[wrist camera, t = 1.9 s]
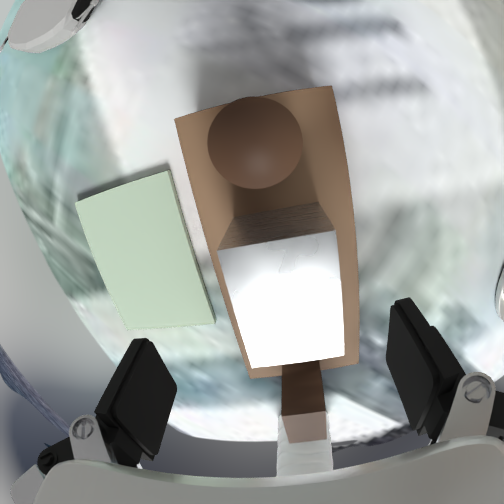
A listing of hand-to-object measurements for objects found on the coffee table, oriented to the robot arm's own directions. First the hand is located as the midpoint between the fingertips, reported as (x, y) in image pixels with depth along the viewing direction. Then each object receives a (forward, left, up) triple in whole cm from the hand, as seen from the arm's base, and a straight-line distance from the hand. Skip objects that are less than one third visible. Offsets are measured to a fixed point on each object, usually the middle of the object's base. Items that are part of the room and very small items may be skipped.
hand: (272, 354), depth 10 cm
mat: (+12, 0, -13) cm, 18 cm away
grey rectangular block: (-1, 0, -8) cm, 8 cm away
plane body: (-1, 0, -13) cm, 13 cm away
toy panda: (+13, -29, -13) cm, 35 cm away
